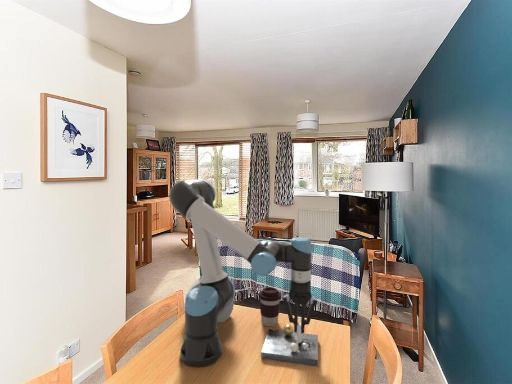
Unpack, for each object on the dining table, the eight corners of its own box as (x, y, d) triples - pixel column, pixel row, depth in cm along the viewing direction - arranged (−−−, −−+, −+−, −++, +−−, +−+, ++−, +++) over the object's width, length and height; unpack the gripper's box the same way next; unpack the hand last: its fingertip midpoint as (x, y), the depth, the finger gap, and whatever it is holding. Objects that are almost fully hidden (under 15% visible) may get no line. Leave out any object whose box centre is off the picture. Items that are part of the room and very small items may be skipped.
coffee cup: (279, 329, 126) (279, 295, 125) (256, 326, 128) (256, 293, 127) (281, 318, 136) (282, 286, 135) (260, 316, 138) (261, 284, 137)
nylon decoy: (289, 353, 106) (289, 345, 105) (290, 348, 109) (290, 340, 108) (297, 354, 105) (298, 346, 105) (298, 349, 108) (298, 341, 108)
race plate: (261, 358, 106) (261, 352, 106) (268, 334, 122) (268, 329, 122) (317, 366, 102) (317, 359, 102) (317, 341, 118) (317, 335, 118)
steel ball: (298, 350, 110) (303, 344, 109) (299, 345, 113) (303, 339, 113) (306, 355, 109) (310, 348, 109) (306, 350, 113) (310, 343, 112)
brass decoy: (282, 336, 116) (282, 327, 116) (283, 331, 120) (284, 322, 120) (292, 338, 115) (293, 328, 115) (293, 332, 119) (293, 323, 119)
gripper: (281, 281, 107) (280, 344, 109) (318, 284, 105) (316, 348, 106) (284, 274, 115) (282, 333, 116) (318, 277, 112) (316, 337, 114)
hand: (298, 340), depth 111 cm, fingers closed
